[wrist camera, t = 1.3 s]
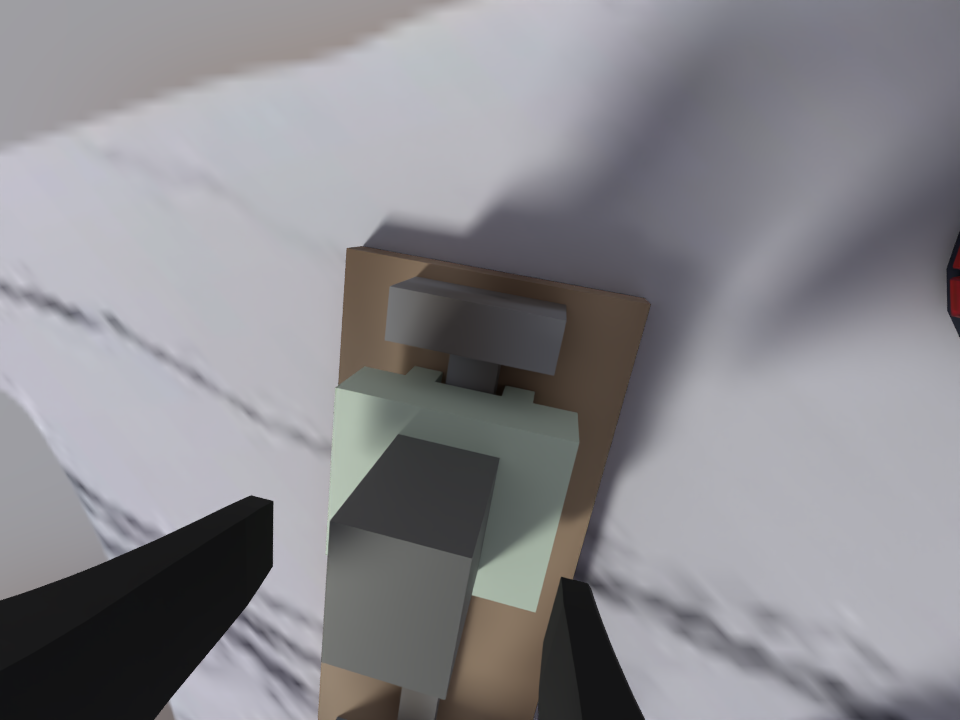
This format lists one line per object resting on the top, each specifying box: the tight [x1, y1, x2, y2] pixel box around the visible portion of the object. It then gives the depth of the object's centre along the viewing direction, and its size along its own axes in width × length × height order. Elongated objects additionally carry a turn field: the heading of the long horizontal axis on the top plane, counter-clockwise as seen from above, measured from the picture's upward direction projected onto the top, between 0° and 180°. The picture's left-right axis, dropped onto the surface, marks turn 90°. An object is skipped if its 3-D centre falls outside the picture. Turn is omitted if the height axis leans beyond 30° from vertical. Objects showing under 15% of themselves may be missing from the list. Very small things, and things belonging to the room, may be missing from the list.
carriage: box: [321, 366, 579, 700], centre depth 13 cm, size 7×6×7 cm
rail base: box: [318, 246, 651, 720], centre depth 17 cm, size 10×29×6 cm, turn 171°
